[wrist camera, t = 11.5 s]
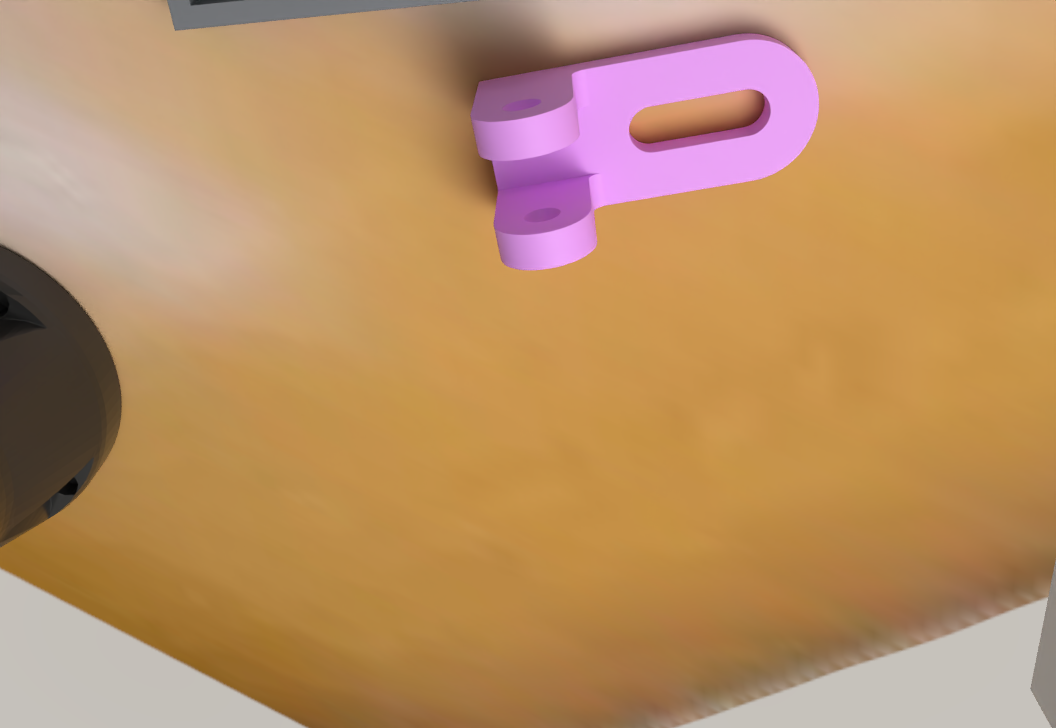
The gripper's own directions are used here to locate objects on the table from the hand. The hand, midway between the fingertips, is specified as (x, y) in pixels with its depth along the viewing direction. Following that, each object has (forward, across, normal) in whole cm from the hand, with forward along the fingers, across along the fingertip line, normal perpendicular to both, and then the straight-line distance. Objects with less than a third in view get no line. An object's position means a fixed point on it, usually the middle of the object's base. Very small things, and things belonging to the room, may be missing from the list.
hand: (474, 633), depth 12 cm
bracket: (+32, -5, +3) cm, 33 cm away
